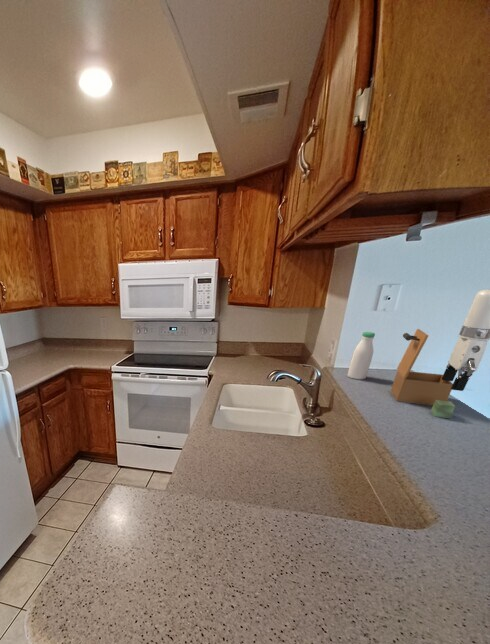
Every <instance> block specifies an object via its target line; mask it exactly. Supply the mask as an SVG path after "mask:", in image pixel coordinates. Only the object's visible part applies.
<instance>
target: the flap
mask: <svg viewBox="0 0 490 644" xmlns="http://www.w3.org/2000/svg"><path fill="white" fill-rule="evenodd" d="M402 337H403V338H404V340H406V341H408V342H409V341H410V342H409V344H408V346H407V349H406V350H405V352H404V354H403V356H402V357H401V359H400V362H399V364H398V365H397V368H396V371H399V372H400V374H401V375H402V377H403V378H405V379H406V378H407V376H408V374H409V372H411V370H412V368H413V366H414V364H415V362H416V360H417V359H418V357H419V355H420V353H421V351H422V349H423V348H424V346H425V344H426V342H427V340H428V338H429V335H428V334H427V333H426V332H425V331H422V330H421V329H420V328H417V329H416V330H415V332H414V334H413V335H411V334H409V333H408V332H405V333H403V334H402Z"/></svg>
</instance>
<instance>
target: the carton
mask: <svg viewBox="0 0 490 644" xmlns="http://www.w3.org/2000/svg"><path fill="white" fill-rule="evenodd" d="M442 377H443V374H441V373H428V372H420V371H419V372H418V371H410V372H409V374H408V376H407V378H406V379H405V378H403V377H402V375H401V374H400V372H399V371H398V370H396V374H395V376H394V380H393V382H392V385H391V388H390V392H391V393H392V396H393V397H394V399H395V400H396V402H402V403H410V404H411V403H412V404H420V405H426V406H433V405H434V402H435V400H442V401H448V399H449V398H450V394H451V392H452V391H453V390H452V389H451V387H452V385H453V383H454V382H452V381H445V380H442Z"/></svg>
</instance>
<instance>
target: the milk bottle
mask: <svg viewBox="0 0 490 644" xmlns="http://www.w3.org/2000/svg"><path fill="white" fill-rule="evenodd" d="M375 336H376V333H375V332H373V331H363V333H362V336H361V340H360V341H359V343H358V344H357V345H356V347H355V348H354V350H353V354H352V357H351V360H350V365H349V367H348V371H347V377H348V378H350V379H354V380H365V379H366V378H367V376H368V373H369V370H370V366H371V362H372V359H373V355H374V344H373V340H374V339H375Z"/></svg>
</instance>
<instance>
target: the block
mask: <svg viewBox="0 0 490 644" xmlns="http://www.w3.org/2000/svg"><path fill="white" fill-rule="evenodd" d="M455 408H456V405H455V404H454V403H453V402H452V401H451V400H447V401H442V400H435V402H434V405H432V407H431V409H430V412H431V413H432V415H433V416H434V417H438V418H447V419H451V418H452V415H453V413H454V410H455Z"/></svg>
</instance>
